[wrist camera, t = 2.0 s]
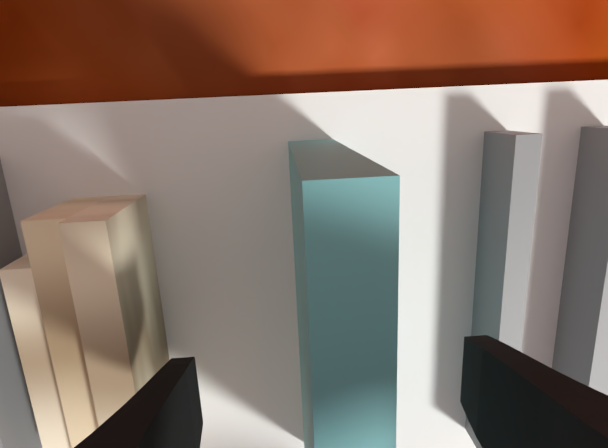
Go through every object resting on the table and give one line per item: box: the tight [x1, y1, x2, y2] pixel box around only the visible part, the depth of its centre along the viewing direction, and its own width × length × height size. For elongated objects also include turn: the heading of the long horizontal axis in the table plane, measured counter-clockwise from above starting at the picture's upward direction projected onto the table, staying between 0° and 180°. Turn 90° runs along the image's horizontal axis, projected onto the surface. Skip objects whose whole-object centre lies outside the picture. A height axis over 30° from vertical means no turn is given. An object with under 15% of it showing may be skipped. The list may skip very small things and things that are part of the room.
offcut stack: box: [0, 194, 170, 448], centre depth 14 cm, size 9×4×4 cm, turn 3°
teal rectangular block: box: [288, 139, 400, 448], centre depth 12 cm, size 12×2×8 cm, turn 3°
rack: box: [0, 80, 608, 448], centre depth 15 cm, size 15×24×4 cm, turn 93°
